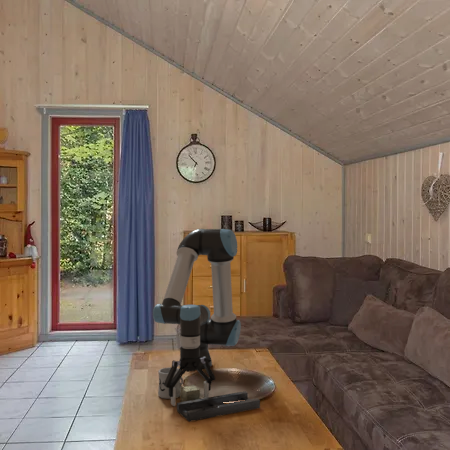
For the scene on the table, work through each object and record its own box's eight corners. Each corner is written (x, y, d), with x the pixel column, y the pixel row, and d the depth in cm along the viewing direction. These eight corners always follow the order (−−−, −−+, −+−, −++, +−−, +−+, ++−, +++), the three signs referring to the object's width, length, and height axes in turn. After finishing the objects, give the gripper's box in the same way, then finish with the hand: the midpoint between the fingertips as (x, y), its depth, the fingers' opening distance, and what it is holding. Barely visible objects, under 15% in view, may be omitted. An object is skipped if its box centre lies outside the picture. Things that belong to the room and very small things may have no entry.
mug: (153, 395, 221) (153, 370, 221) (170, 390, 228) (170, 365, 227) (174, 403, 213) (174, 377, 212) (191, 397, 219) (192, 372, 219)
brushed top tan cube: (180, 401, 215) (180, 387, 215) (193, 399, 218) (193, 385, 217) (186, 406, 210) (186, 391, 210) (199, 403, 213) (199, 389, 213)
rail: (176, 411, 205) (176, 403, 205) (245, 398, 218) (245, 391, 218) (189, 421, 195) (189, 413, 195) (259, 408, 208) (259, 399, 208)
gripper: (162, 352, 204) (162, 410, 205) (224, 345, 216) (223, 400, 216) (155, 347, 211) (155, 404, 211) (215, 340, 222) (215, 394, 223)
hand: (189, 402), depth 214 cm, fingers open, 13 cm apart
